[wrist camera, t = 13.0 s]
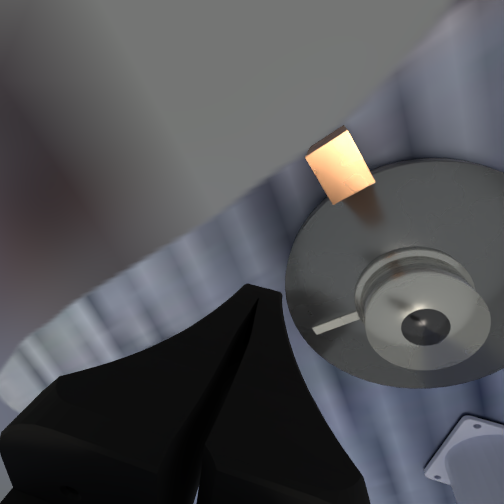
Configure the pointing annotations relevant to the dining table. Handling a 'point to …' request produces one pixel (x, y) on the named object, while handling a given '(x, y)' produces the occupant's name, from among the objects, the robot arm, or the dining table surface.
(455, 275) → the cover
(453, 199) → the turntable
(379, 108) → the dining table surface
